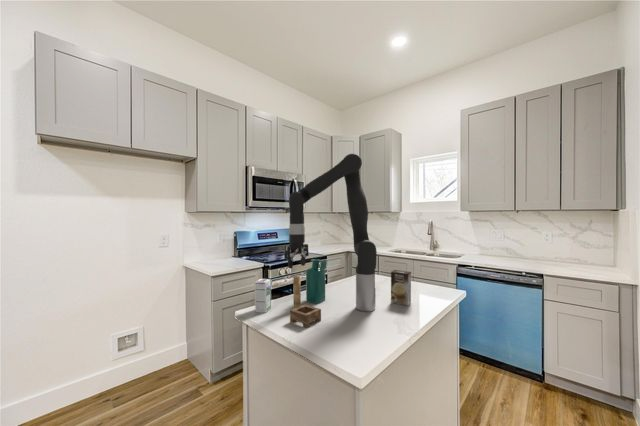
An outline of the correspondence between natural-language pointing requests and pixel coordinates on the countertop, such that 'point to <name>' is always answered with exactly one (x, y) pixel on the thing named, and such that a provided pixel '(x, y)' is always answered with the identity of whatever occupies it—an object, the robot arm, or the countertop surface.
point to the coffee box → (401, 287)
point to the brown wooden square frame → (305, 315)
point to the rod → (296, 291)
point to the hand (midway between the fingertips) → (296, 266)
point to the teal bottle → (316, 281)
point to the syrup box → (262, 295)
